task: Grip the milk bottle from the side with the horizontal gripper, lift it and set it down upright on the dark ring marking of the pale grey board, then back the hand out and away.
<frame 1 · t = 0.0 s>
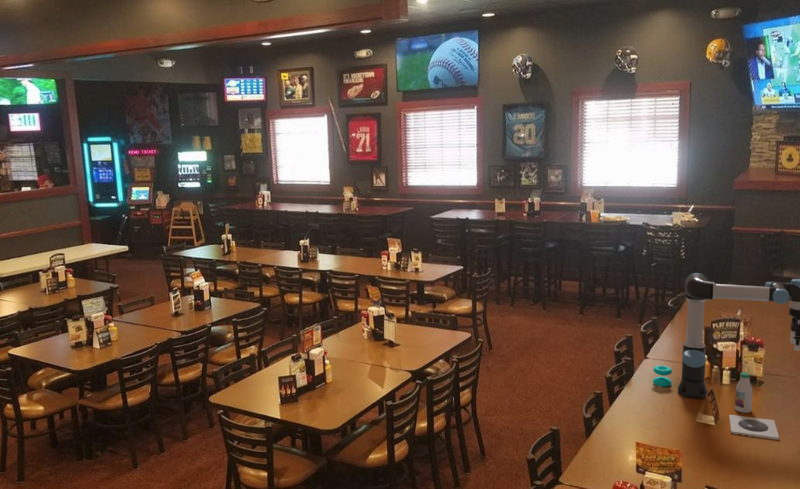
hand: (794, 346, 353), 28 cm above the table, tool pointing down, fingers open, 13 cm apart
milk bottle: (743, 410, 342), on the table
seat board: (753, 427, 322), on the table
donuts: (662, 384, 380), on the table
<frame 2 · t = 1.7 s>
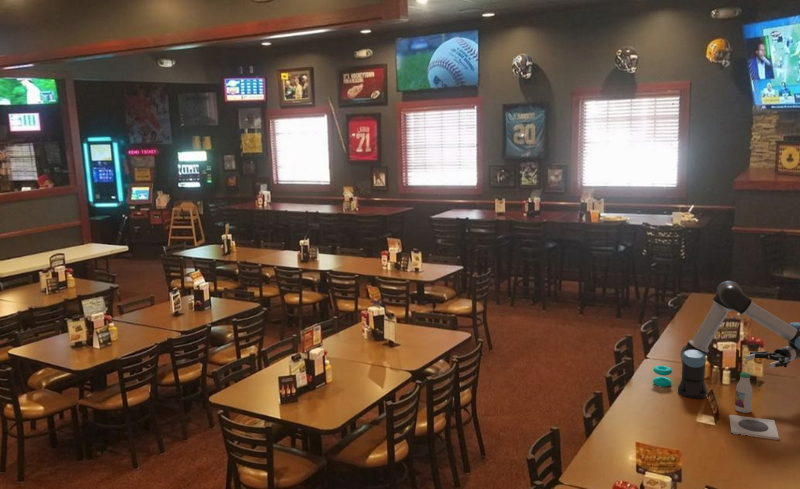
hand: (757, 362, 343), 24 cm above the table, tool horizontal, fingers open, 13 cm apart
nothing on the table moved.
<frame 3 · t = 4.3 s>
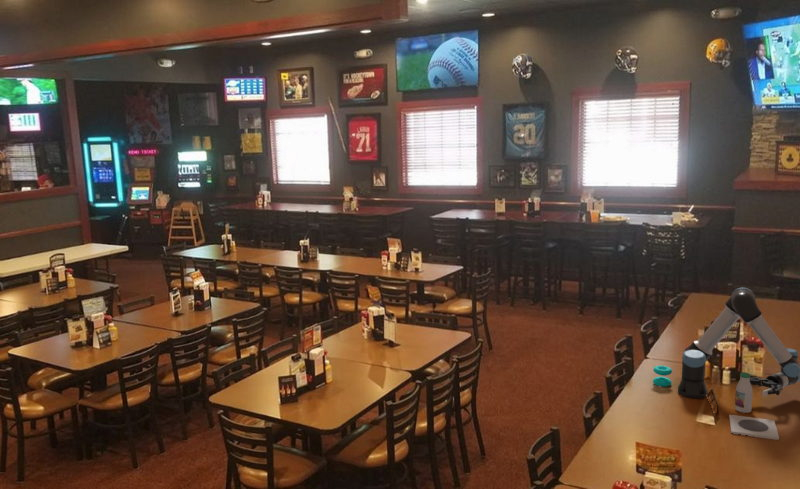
hand: (750, 389, 342), 11 cm above the table, tool horizontal, fingers open, 13 cm apart
nothing on the table moved.
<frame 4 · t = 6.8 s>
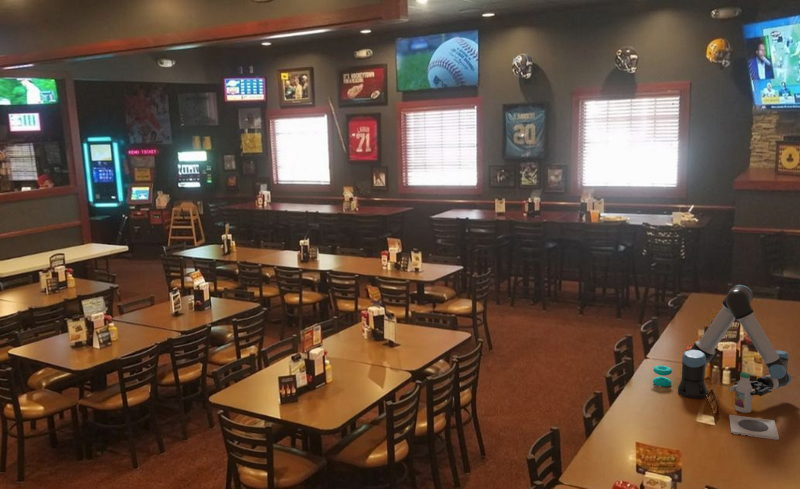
hand: (737, 392, 338), 11 cm above the table, tool horizontal, fingers closed on milk bottle, 8 cm apart
milk bottle: (743, 410, 342), on the table, touching gripper
everything else where it was.
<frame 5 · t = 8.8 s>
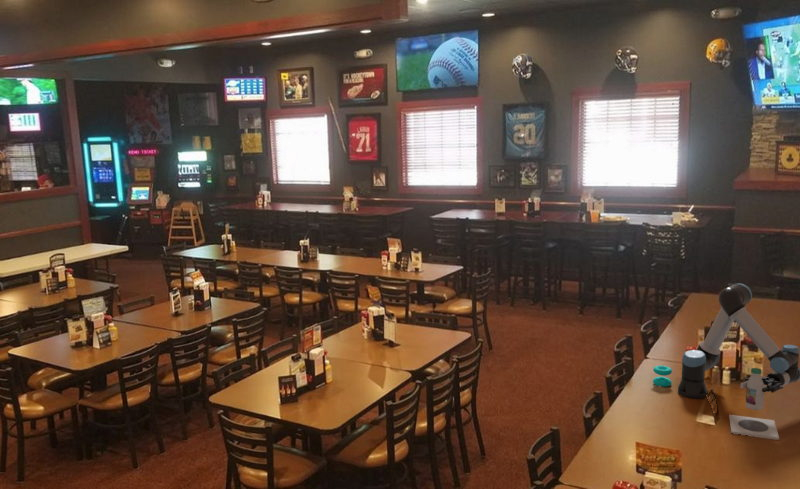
hand: (749, 388, 325), 18 cm above the table, tool horizontal, fingers closed on milk bottle, 8 cm apart
milk bottle: (754, 407, 329), point 7 cm above the table, touching gripper
everything else where it was.
when the fingers open (13 cm above the table, at t = 11.0 s): milk bottle drops 1 cm, resting on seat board.
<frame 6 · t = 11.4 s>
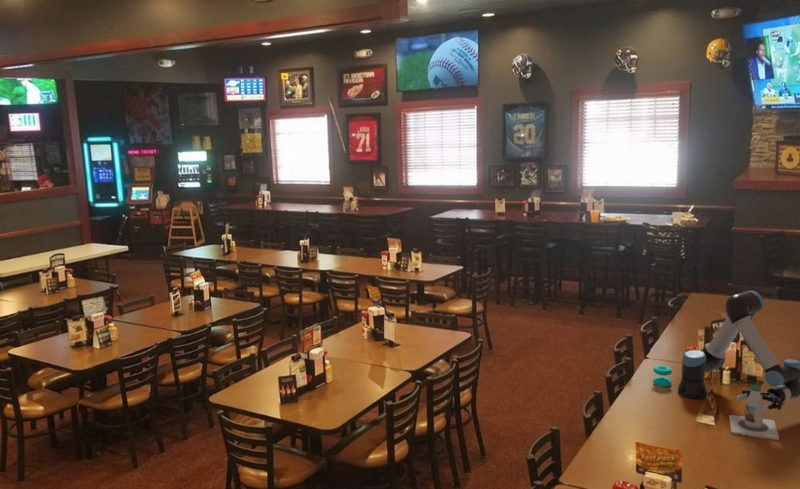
hand: (750, 403, 318), 13 cm above the table, tool horizontal, fingers open, 13 cm apart
milk bottle: (753, 425, 322), point 1 cm above the table, touching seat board
everything else where it was.
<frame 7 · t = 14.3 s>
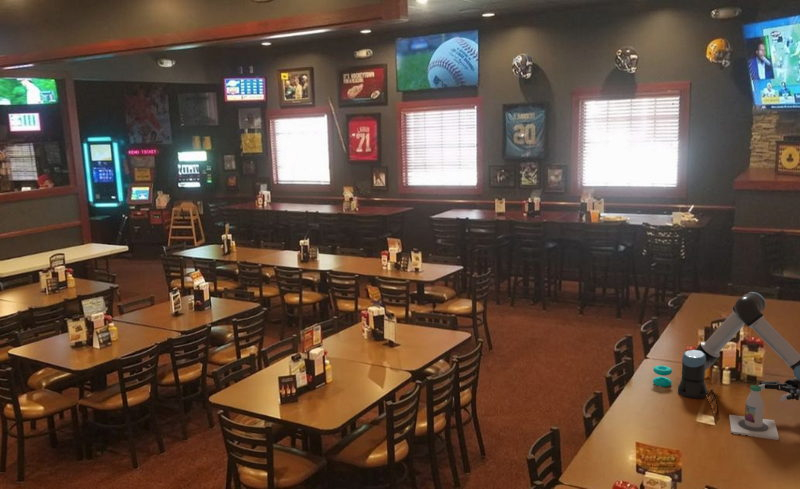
hand: (768, 393, 325), 15 cm above the table, tool horizontal, fingers open, 13 cm apart
nothing on the table moved.
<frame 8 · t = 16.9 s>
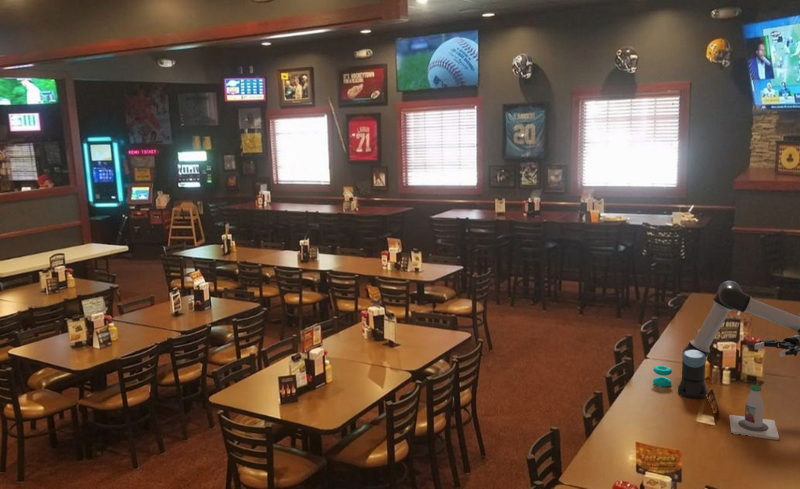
hand: (767, 350, 337), 32 cm above the table, tool horizontal, fingers open, 13 cm apart
nothing on the table moved.
at the end: milk bottle inside the target area on the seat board (0.1 cm from its centre), point 1.2 cm above the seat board's base; milk bottle tilted 0°; the gripper is holding nothing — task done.
